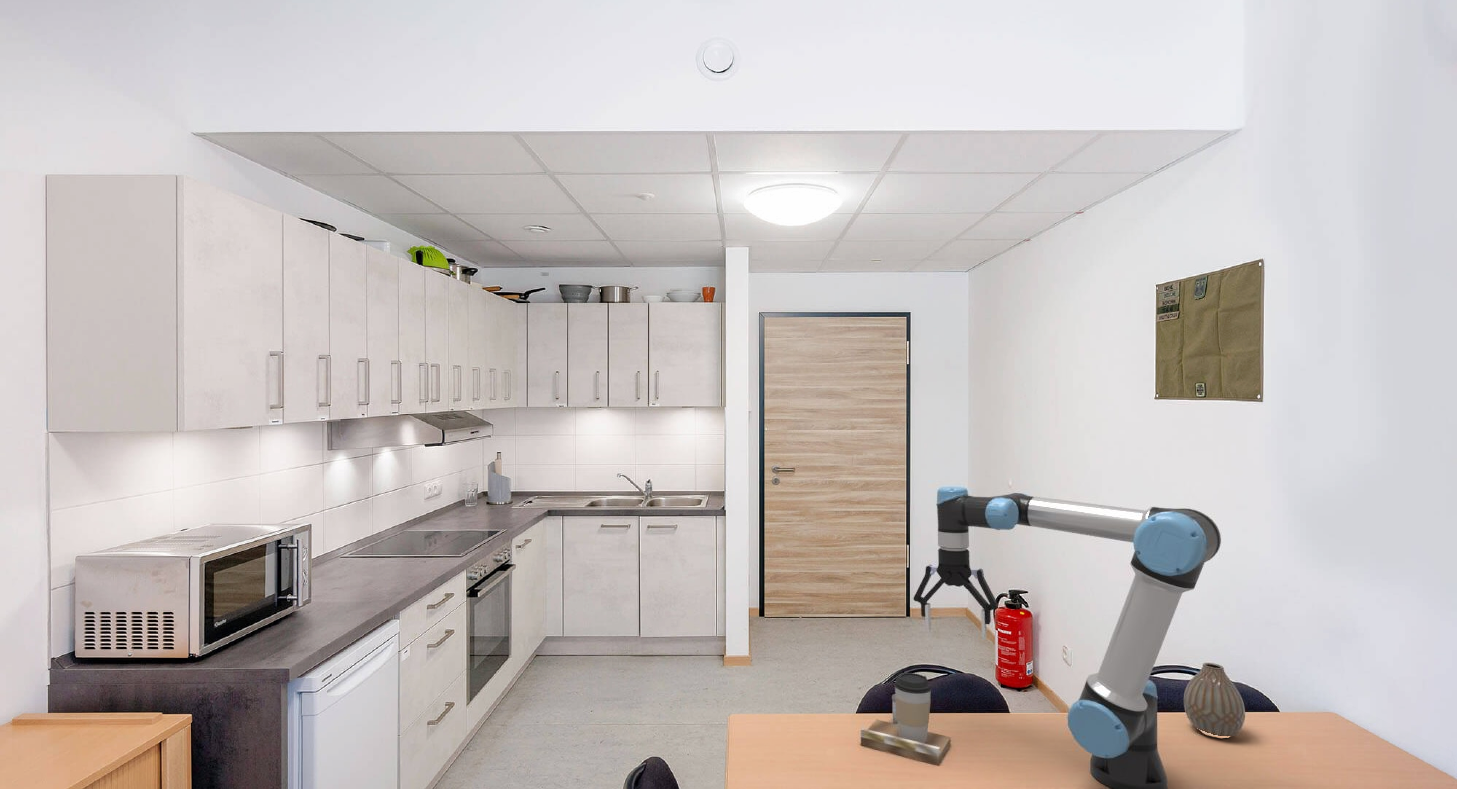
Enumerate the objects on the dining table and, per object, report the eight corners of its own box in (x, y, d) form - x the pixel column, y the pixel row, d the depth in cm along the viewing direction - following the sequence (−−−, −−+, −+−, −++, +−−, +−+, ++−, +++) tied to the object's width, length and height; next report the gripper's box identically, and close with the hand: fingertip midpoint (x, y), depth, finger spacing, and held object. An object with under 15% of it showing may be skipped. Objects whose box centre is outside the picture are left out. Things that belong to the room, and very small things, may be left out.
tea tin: (912, 723, 183) (912, 695, 184) (907, 730, 179) (907, 701, 180) (895, 719, 186) (895, 692, 186) (889, 725, 182) (889, 698, 182)
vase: (1172, 725, 184) (1171, 659, 185) (1208, 719, 188) (1207, 654, 188) (1220, 748, 171) (1219, 676, 172) (1258, 741, 175) (1257, 671, 176)
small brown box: (950, 745, 171) (950, 729, 171) (938, 766, 161) (938, 749, 161) (876, 727, 181) (876, 712, 181) (860, 745, 170) (860, 729, 170)
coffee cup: (894, 744, 167) (894, 681, 168) (893, 727, 176) (893, 668, 176) (933, 748, 165) (933, 684, 166) (930, 731, 174) (930, 671, 175)
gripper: (1007, 549, 172) (1010, 636, 171) (907, 542, 184) (909, 623, 183) (1004, 554, 166) (1007, 644, 164) (900, 546, 177) (902, 630, 176)
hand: (955, 633), depth 173 cm, fingers open, 13 cm apart
